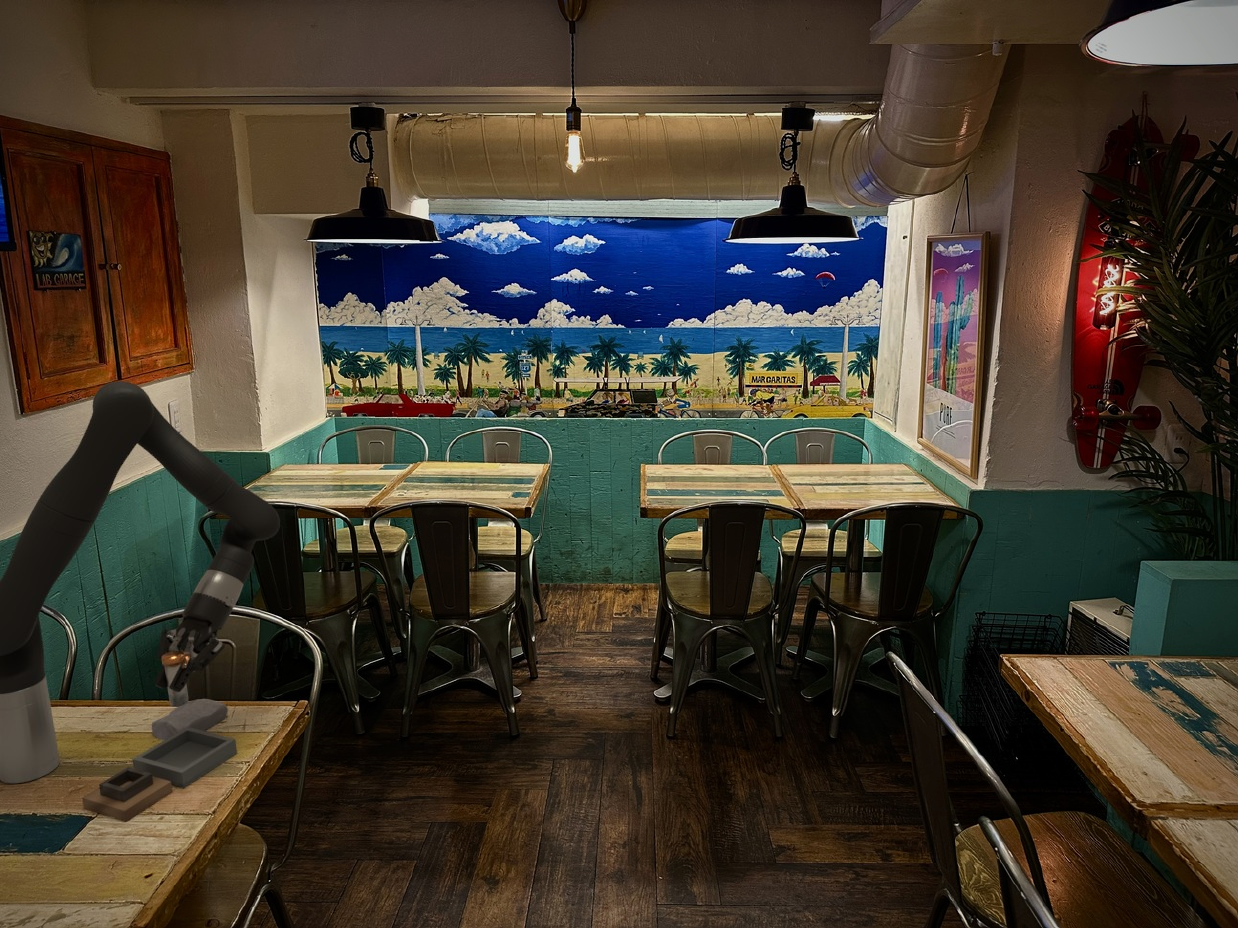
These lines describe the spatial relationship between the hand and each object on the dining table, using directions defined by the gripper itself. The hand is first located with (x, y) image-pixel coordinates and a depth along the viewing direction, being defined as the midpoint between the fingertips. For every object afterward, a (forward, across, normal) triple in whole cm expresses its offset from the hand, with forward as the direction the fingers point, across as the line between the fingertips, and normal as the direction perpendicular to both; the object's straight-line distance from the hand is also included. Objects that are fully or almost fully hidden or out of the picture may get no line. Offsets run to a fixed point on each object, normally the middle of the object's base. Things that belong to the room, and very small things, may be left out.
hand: (167, 688), depth 155 cm
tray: (+10, 0, +13) cm, 16 cm away
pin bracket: (+18, 0, +4) cm, 19 cm away
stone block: (+3, -11, +20) cm, 23 cm away
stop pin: (+1, 0, +4) cm, 4 cm away
